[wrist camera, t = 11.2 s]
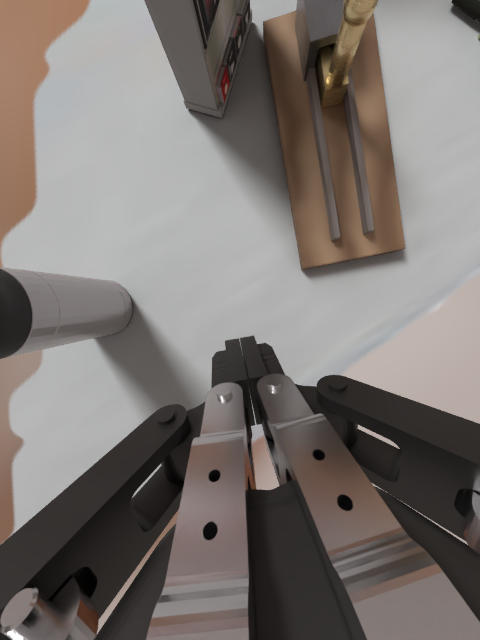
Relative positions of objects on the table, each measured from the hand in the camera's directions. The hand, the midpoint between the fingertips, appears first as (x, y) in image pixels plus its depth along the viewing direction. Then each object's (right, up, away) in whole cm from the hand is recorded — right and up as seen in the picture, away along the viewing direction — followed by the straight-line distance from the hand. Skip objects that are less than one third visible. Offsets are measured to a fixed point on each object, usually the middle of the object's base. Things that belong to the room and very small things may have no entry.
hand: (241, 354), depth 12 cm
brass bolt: (+12, +35, +20) cm, 42 cm away
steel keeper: (+11, +39, +19) cm, 45 cm away
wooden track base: (+13, +27, +22) cm, 38 cm away
